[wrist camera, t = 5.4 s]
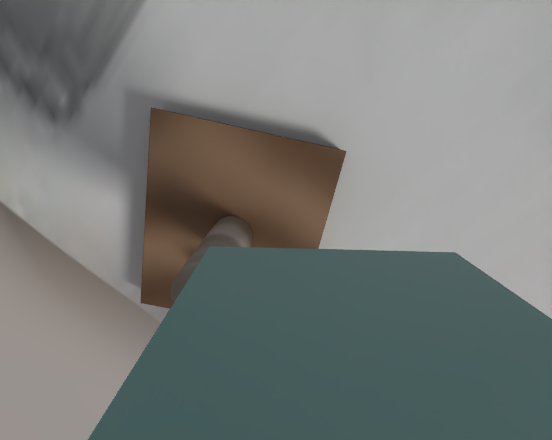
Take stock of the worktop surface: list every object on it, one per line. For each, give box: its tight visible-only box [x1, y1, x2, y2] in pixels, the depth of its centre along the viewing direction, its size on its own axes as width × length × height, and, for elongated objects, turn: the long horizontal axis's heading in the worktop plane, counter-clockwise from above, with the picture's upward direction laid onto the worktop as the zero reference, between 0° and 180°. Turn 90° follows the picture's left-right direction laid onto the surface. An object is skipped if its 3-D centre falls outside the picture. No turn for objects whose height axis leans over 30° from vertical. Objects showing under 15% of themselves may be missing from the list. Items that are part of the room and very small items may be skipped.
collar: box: [88, 246, 552, 440], centre depth 6 cm, size 7×7×5 cm
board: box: [141, 108, 346, 308], centre depth 15 cm, size 14×12×8 cm
